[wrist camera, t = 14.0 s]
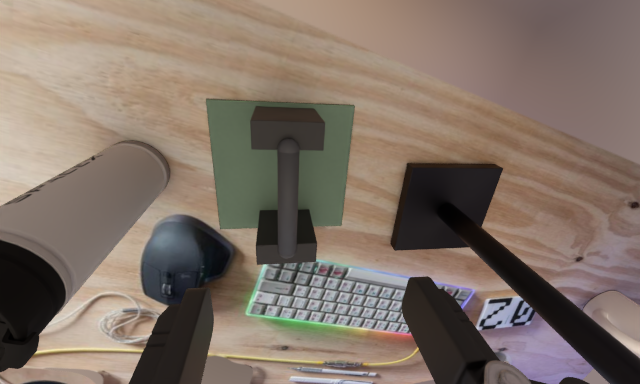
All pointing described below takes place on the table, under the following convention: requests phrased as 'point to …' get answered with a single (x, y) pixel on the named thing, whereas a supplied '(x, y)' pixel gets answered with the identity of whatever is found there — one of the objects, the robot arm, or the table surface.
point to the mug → (617, 317)
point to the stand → (498, 255)
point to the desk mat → (262, 170)
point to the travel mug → (67, 237)
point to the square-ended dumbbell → (286, 182)
